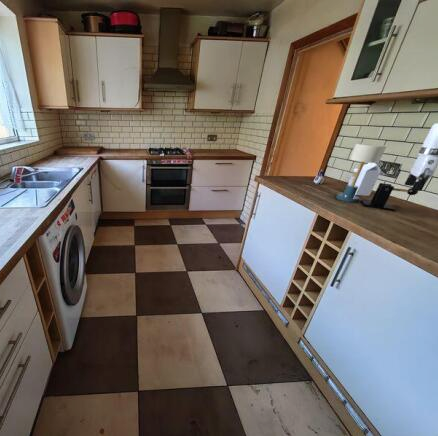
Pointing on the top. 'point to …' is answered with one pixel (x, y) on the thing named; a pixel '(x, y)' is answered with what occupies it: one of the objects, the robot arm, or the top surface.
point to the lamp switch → (409, 191)
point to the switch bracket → (380, 198)
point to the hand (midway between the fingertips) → (412, 187)
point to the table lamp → (362, 154)
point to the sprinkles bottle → (353, 176)
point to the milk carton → (367, 179)
